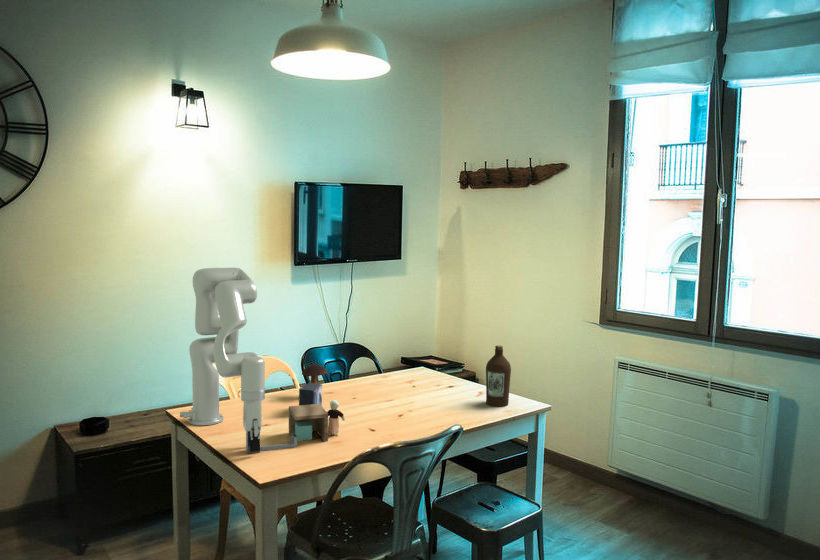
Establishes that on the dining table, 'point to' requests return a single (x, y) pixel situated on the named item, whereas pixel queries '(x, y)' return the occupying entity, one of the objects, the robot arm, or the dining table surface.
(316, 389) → the small box
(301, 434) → the block
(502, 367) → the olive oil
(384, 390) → the dining table surface
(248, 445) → the grey long piece
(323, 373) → the decorative mushroom
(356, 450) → the dining table surface
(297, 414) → the cubby
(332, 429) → the grandmother figurine
